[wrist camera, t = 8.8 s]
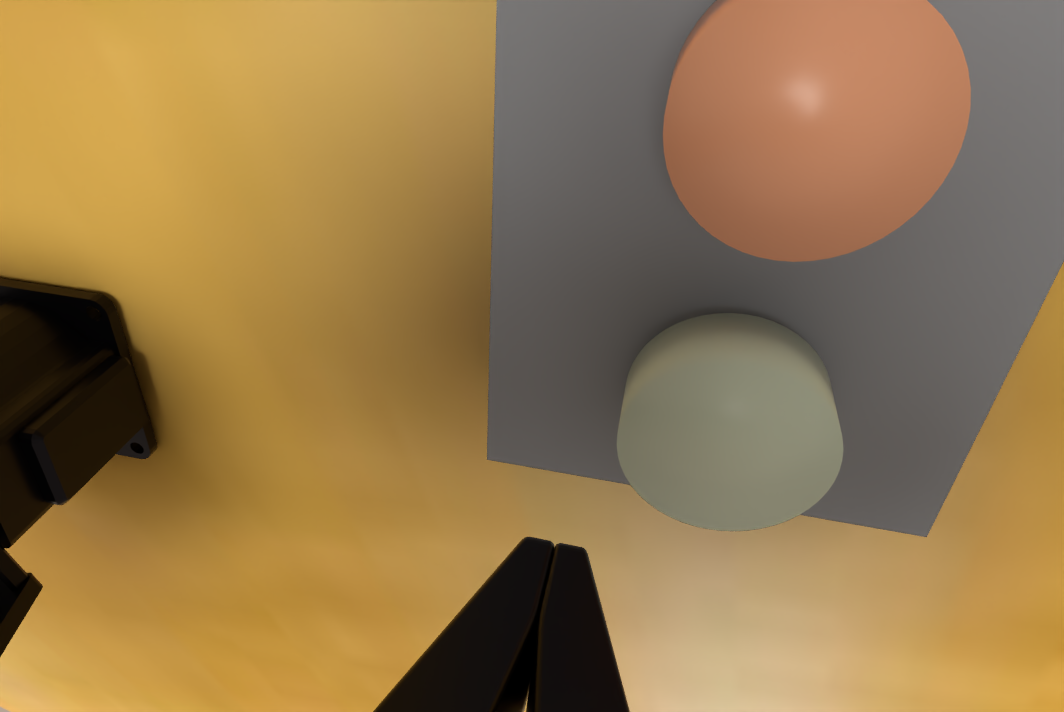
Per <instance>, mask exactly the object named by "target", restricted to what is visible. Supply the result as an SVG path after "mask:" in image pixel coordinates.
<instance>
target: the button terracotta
mask: <svg viewBox="0 0 1064 712" xmlns="http://www.w3.org/2000/svg"><path fill="white" fill-rule="evenodd" d="M970 106H971V86H970V78H969V71H968V66H967V63H966V60H965V56H964V53H963V50H962V47H961V45H960V43H959V41H958V39H957V37H956V35H955V33H954V31H953V30H952V28H951V27H950V26H949V24H948V23H947V21H946V20H945V19H944V17H943V16H942V15H941V14H940V13H939V12H938V11H937V10H936V9H935V8H934V7H933V6H932V5H931V4H930V3H929V2H928V1H927V0H716V1H715V2H714V3H713V4H712V5H711V6H710V7H709V8H708V9H707V11H706V12H705V13H704V14H703V15H702V17H701V18H700V19H699V20H698V21H697V23H696V25H695V26H694V28H693V29H692V31H691V32H690V34H689V35H688V37H687V39H686V41H685V43H684V45H683V47H682V49H681V51H680V53H679V56H678V59H677V62H676V64H675V67H674V70H673V75H672V80H671V84H670V89H669V94H668V99H667V104H666V109H665V115H664V126H663V147H664V156H665V161H666V166H667V170H668V173H669V176H670V179H671V182H672V185H673V187H674V189H675V191H676V193H677V195H678V197H679V199H680V201H681V202H682V204H683V205H684V207H685V208H686V209H687V211H688V212H689V214H690V215H691V216H692V217H693V218H694V219H695V220H696V221H697V222H698V224H699V225H700V226H701V227H703V228H704V229H705V230H706V231H707V232H709V233H710V234H711V235H712V236H714V237H715V238H717V239H718V240H720V241H722V242H723V243H725V244H726V245H728V246H730V247H732V248H735V249H737V250H739V251H741V252H744V253H747V254H750V255H753V256H756V257H760V258H765V259H770V260H776V261H789V262H801V261H815V260H822V259H828V258H833V257H836V256H840V255H844V254H848V253H850V252H853V251H856V250H858V249H861V248H863V247H866V246H868V245H870V244H872V243H874V242H876V241H878V240H880V239H882V238H884V237H885V236H887V235H888V234H890V233H891V232H893V231H894V230H896V229H897V228H899V227H900V226H902V225H903V224H904V223H905V222H906V221H908V220H909V219H910V218H911V217H913V216H914V215H915V214H916V213H917V212H918V211H919V210H920V209H921V208H922V207H923V206H924V205H925V204H926V203H927V202H928V201H929V200H930V199H931V197H932V196H933V195H934V194H935V192H936V191H937V190H938V188H939V187H940V186H941V185H942V183H943V182H944V180H945V178H946V177H947V175H948V173H949V172H950V170H951V168H952V167H953V165H954V163H955V160H956V158H957V156H958V154H959V152H960V149H961V147H962V144H963V140H964V137H965V134H966V130H967V126H968V120H969V114H970Z"/></svg>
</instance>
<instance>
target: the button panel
mask: <svg viewBox="0 0 1064 712" xmlns="http://www.w3.org/2000/svg"><path fill="white" fill-rule="evenodd" d="M715 1H716V0H497V17H496V64H495V110H494V157H493V204H492V250H491V297H490V343H489V390H488V436H487V460H492V461H498V462H504V463H509V464H515V465H521V466H526V467H532V468H538V469H543V470H549V471H555V472H560V473H566V474H572V475H577V476H583V477H589V478H594V479H600V480H606V481H611V482H617V483H623V484H628V485H630V483H629V481H628V480H627V478H626V477H625V475H624V472H623V470H622V468H621V466H620V462H619V458H618V453H617V433H618V427H619V421H620V415H621V410H622V404H623V398H624V392H625V386H626V381H627V377H628V373H629V371H630V368H631V366H632V363H633V362H634V360H635V359H636V357H637V355H638V354H639V352H640V351H641V350H642V349H643V348H644V346H645V345H646V344H647V343H648V342H650V341H651V340H652V339H653V338H654V337H655V336H657V335H658V334H659V333H661V332H662V331H664V330H665V329H667V328H669V327H671V326H673V325H675V324H677V323H679V322H682V321H685V320H687V319H690V318H694V317H698V316H702V315H709V314H716V313H737V314H747V315H752V316H757V317H761V318H764V319H768V320H771V321H774V322H776V323H778V324H780V325H782V326H785V327H787V328H788V329H790V330H791V331H793V332H795V333H796V334H798V335H799V336H800V337H801V338H803V339H804V340H805V341H806V342H807V343H808V344H809V345H810V346H811V347H812V348H813V349H814V350H815V351H816V352H817V354H818V355H819V357H820V358H821V360H822V361H823V363H824V366H825V368H826V370H827V372H828V376H829V379H830V383H831V388H832V392H833V397H834V401H835V406H836V410H837V415H838V419H839V424H840V428H841V433H842V437H843V459H842V463H841V467H840V471H839V473H838V475H837V477H836V479H835V481H834V483H833V484H832V486H831V487H830V489H829V490H828V492H827V493H826V494H825V495H824V496H823V497H822V498H821V499H820V500H819V501H818V502H817V503H816V504H814V505H813V506H812V507H811V508H810V509H808V510H806V511H805V512H803V513H802V514H800V515H804V516H810V517H815V518H821V519H827V520H833V521H838V522H844V523H850V524H855V525H861V526H867V527H872V528H878V529H884V530H889V531H895V532H901V533H906V534H912V535H918V536H923V537H927V535H928V533H929V531H930V529H931V527H932V525H933V523H934V521H935V519H936V517H937V515H938V513H939V511H940V509H941V507H942V505H943V503H944V501H945V499H946V497H947V495H948V493H949V491H950V489H951V487H952V485H953V483H954V481H955V479H956V477H957V475H958V473H959V471H960V469H961V467H962V465H963V463H964V461H965V459H966V457H967V455H968V453H969V451H970V449H971V447H972V445H973V443H974V441H975V439H976V437H977V435H978V433H979V431H980V429H981V427H982V425H983V423H984V421H985V419H986V417H987V415H988V413H989V411H990V409H991V407H992V405H993V402H994V400H995V398H996V396H997V394H998V392H999V390H1000V388H1001V386H1002V384H1003V382H1004V380H1005V378H1006V376H1007V374H1008V372H1009V370H1010V368H1011V366H1012V364H1013V362H1014V360H1015V358H1016V356H1017V354H1018V352H1019V350H1020V348H1021V346H1022V344H1023V342H1024V340H1025V338H1026V336H1027V334H1028V332H1029V330H1030V328H1031V326H1032V324H1033V322H1034V320H1035V318H1036V316H1037V314H1038V312H1039V310H1040V308H1041V306H1042V304H1043V302H1044V300H1045V298H1046V296H1047V294H1048V292H1049V290H1050V288H1051V286H1052V284H1053V282H1054V280H1055V278H1056V276H1057V274H1058V272H1059V270H1060V268H1061V266H1062V264H1063V262H1064V0H927V1H928V2H929V3H930V4H931V5H932V6H933V7H934V8H935V9H936V10H937V11H938V12H939V13H940V14H941V15H942V16H943V17H944V19H945V20H946V21H947V23H948V24H949V26H950V27H951V28H952V30H953V31H954V33H955V35H956V37H957V39H958V41H959V43H960V45H961V47H962V50H963V53H964V56H965V60H966V63H967V66H968V71H969V78H970V86H971V106H970V114H969V120H968V126H967V130H966V134H965V137H964V140H963V144H962V147H961V149H960V152H959V154H958V156H957V158H956V160H955V163H954V165H953V167H952V168H951V170H950V172H949V173H948V175H947V177H946V178H945V180H944V182H943V183H942V185H941V186H940V187H939V188H938V190H937V191H936V192H935V194H934V195H933V196H932V197H931V199H930V200H929V201H928V202H927V203H926V204H925V205H924V206H923V207H922V208H921V209H920V210H919V211H918V212H917V213H916V214H915V215H914V216H913V217H911V218H910V219H909V220H908V221H906V222H905V223H904V224H903V225H902V226H900V227H899V228H897V229H896V230H894V231H893V232H891V233H890V234H888V235H887V236H885V237H884V238H882V239H880V240H878V241H876V242H874V243H872V244H870V245H868V246H866V247H863V248H861V249H858V250H856V251H853V252H850V253H848V254H844V255H840V256H836V257H833V258H828V259H822V260H815V261H801V262H789V261H776V260H770V259H765V258H760V257H756V256H753V255H750V254H747V253H744V252H741V251H739V250H737V249H735V248H732V247H730V246H728V245H726V244H725V243H723V242H722V241H720V240H718V239H717V238H715V237H714V236H712V235H711V234H710V233H709V232H707V231H706V230H705V229H704V228H703V227H701V226H700V225H699V224H698V222H697V221H696V220H695V219H694V218H693V217H692V216H691V215H690V214H689V212H688V211H687V209H686V208H685V207H684V205H683V204H682V202H681V201H680V199H679V197H678V195H677V193H676V191H675V189H674V187H673V185H672V182H671V179H670V176H669V173H668V170H667V166H666V161H665V156H664V147H663V126H664V115H665V109H666V104H667V99H668V94H669V89H670V84H671V80H672V75H673V70H674V67H675V64H676V62H677V59H678V56H679V53H680V51H681V49H682V47H683V45H684V43H685V41H686V39H687V37H688V35H689V34H690V32H691V31H692V29H693V28H694V26H695V25H696V23H697V21H698V20H699V19H700V18H701V17H702V15H703V14H704V13H705V12H706V11H707V9H708V8H709V7H710V6H711V5H712V4H713V3H714V2H715Z"/></svg>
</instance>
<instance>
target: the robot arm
mask: <svg viewBox="0 0 1064 712" xmlns="http://www.w3.org/2000/svg"><path fill="white" fill-rule="evenodd" d="M156 448H157V442H156V439H155V435H154V432H153V429H152V425H151V422H150V419H149V415H148V412H147V409H146V405H145V402H144V399H143V396H142V392H141V389H140V386H139V382H138V379H137V376H136V372H135V369H134V366H133V362H132V359H131V356H130V353H129V349H128V346H127V343H126V339H125V336H124V333H123V329H122V326H121V323H120V319H119V316H118V313H117V309H116V307H115V305H114V304H113V303H112V301H111V300H110V299H108V298H107V297H105V296H104V295H101V294H98V293H92V292H86V291H80V290H73V289H67V288H60V287H54V286H48V285H41V284H35V283H28V282H22V281H16V280H9V279H3V278H0V657H1V655H2V653H3V652H4V650H5V648H6V647H7V645H8V644H9V642H10V640H11V639H12V637H13V635H14V634H15V632H16V630H17V629H18V627H19V625H20V624H21V622H22V621H23V619H24V617H25V616H26V614H27V612H28V611H29V609H30V607H31V606H32V604H33V603H34V601H35V599H36V598H37V596H38V594H39V593H40V591H41V589H42V587H43V586H42V584H41V583H40V582H39V581H38V580H37V579H36V578H35V577H34V575H33V574H32V573H26V572H25V571H24V570H23V569H22V568H21V567H20V565H19V564H18V563H17V562H16V561H15V560H14V559H13V558H12V557H11V556H10V555H9V553H8V552H7V551H6V550H5V549H4V548H10V547H11V546H12V545H13V544H14V543H15V542H16V541H17V540H18V539H19V538H20V537H21V536H22V535H23V534H24V533H25V532H26V531H27V530H28V529H29V528H30V527H31V526H32V525H33V524H34V523H35V522H36V521H37V520H38V519H39V518H40V517H41V516H42V515H43V514H45V513H46V512H47V511H48V510H49V509H50V508H51V507H52V506H53V505H54V504H56V505H63V504H65V503H66V502H68V501H69V500H70V499H71V498H72V497H73V496H74V495H75V494H76V493H77V492H78V491H79V490H80V489H81V488H82V487H83V486H84V485H85V484H86V483H87V482H88V481H89V480H90V479H91V478H92V477H93V476H94V475H95V474H96V473H97V472H98V471H99V470H100V469H101V468H102V467H103V466H104V465H105V464H106V463H107V462H108V461H109V460H110V459H111V458H112V457H113V456H114V455H115V454H118V455H123V456H129V457H134V458H139V459H146V458H148V457H149V456H150V455H151V454H152V453H153V452H154V451H155V450H156ZM528 692H529V693H528ZM527 697H528V701H527ZM526 701H527V709H526V712H630V711H629V707H628V703H627V700H626V696H625V692H624V688H623V685H622V681H621V677H620V673H619V670H618V666H617V662H616V658H615V655H614V651H613V647H612V643H611V640H610V636H609V632H608V628H607V625H606V621H605V617H604V613H603V610H602V606H601V602H600V598H599V595H598V591H597V587H596V583H595V580H594V576H593V572H592V568H591V565H590V561H589V557H588V554H587V552H586V550H585V549H584V548H582V547H578V546H573V545H568V544H563V543H559V544H557V545H556V546H555V548H554V544H553V543H552V542H551V541H548V540H543V539H538V538H533V537H526V538H524V539H522V540H521V541H520V542H519V544H518V545H517V546H516V547H515V548H514V549H513V551H512V552H511V553H510V554H509V555H508V556H507V557H506V559H505V560H504V561H503V562H502V563H501V564H500V566H499V567H498V568H497V569H496V570H495V571H494V573H493V574H492V575H491V576H490V577H489V578H488V579H487V581H486V582H485V583H484V584H483V585H482V586H481V588H480V589H479V590H478V591H477V592H476V593H475V594H474V596H473V597H472V598H471V599H470V600H469V601H468V603H467V604H466V605H465V606H464V607H463V608H462V609H461V611H460V612H459V613H458V614H457V615H456V616H455V618H454V619H453V620H452V621H451V622H450V623H449V624H448V626H447V627H446V628H445V629H444V630H443V631H442V633H441V634H440V635H439V636H438V637H437V638H436V640H435V641H434V642H433V643H432V644H431V645H430V646H429V648H428V649H427V650H426V651H425V652H424V653H423V655H422V656H421V657H420V658H419V659H418V660H417V661H416V663H415V664H414V665H413V666H412V667H411V668H410V670H409V671H408V672H407V673H406V674H405V675H404V676H403V678H402V679H401V680H400V681H399V682H398V683H397V685H396V686H395V687H394V688H393V689H392V690H391V691H390V693H389V694H388V695H387V696H386V697H385V698H384V700H383V701H382V702H381V703H380V704H379V705H378V707H377V708H376V709H375V710H374V711H373V712H524V709H525V706H526Z"/></svg>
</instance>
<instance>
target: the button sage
mask: <svg viewBox="0 0 1064 712" xmlns="http://www.w3.org/2000/svg"><path fill="white" fill-rule="evenodd" d="M617 453H618V458H619V462H620V466H621V468H622V470H623V472H624V475H625V477H626V478H627V480H628V481H629V483H630V485H631V486H632V487H633V488H634V490H635V491H636V492H637V493H638V494H639V495H640V496H641V497H642V498H643V499H644V500H645V501H646V502H647V503H649V504H650V505H651V506H653V507H654V508H656V509H657V510H658V511H660V512H662V513H664V514H665V515H667V516H669V517H671V518H674V519H676V520H678V521H680V522H683V523H686V524H689V525H692V526H696V527H701V528H705V529H711V530H719V531H748V530H755V529H762V528H766V527H770V526H774V525H777V524H780V523H783V522H785V521H788V520H790V519H792V518H794V517H796V516H798V515H800V514H802V513H803V512H805V511H806V510H808V509H810V508H811V507H812V506H813V505H814V504H816V503H817V502H818V501H819V500H820V499H821V498H822V497H823V496H824V495H825V494H826V493H827V492H828V490H829V489H830V487H831V486H832V484H833V483H834V481H835V479H836V477H837V475H838V473H839V471H840V467H841V463H842V459H843V437H842V433H841V428H840V424H839V419H838V415H837V410H836V406H835V401H834V397H833V392H832V388H831V383H830V379H829V376H828V372H827V370H826V368H825V366H824V363H823V361H822V360H821V358H820V357H819V355H818V354H817V352H816V351H815V350H814V349H813V348H812V347H811V346H810V345H809V344H808V343H807V342H806V341H805V340H804V339H803V338H801V337H800V336H799V335H798V334H796V333H795V332H793V331H791V330H790V329H788V328H787V327H785V326H782V325H780V324H778V323H776V322H774V321H771V320H768V319H764V318H761V317H757V316H752V315H747V314H737V313H716V314H709V315H702V316H698V317H694V318H690V319H687V320H685V321H682V322H679V323H677V324H675V325H673V326H671V327H669V328H667V329H665V330H664V331H662V332H661V333H659V334H658V335H657V336H655V337H654V338H653V339H652V340H651V341H650V342H648V343H647V344H646V345H645V346H644V348H643V349H642V350H641V351H640V352H639V354H638V355H637V357H636V359H635V360H634V362H633V363H632V366H631V368H630V371H629V373H628V377H627V381H626V386H625V392H624V398H623V404H622V410H621V415H620V421H619V427H618V433H617Z"/></svg>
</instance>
